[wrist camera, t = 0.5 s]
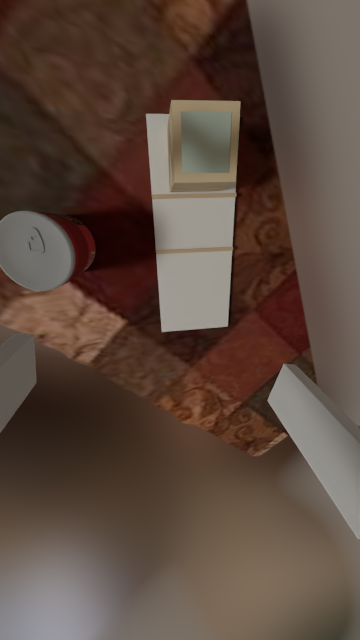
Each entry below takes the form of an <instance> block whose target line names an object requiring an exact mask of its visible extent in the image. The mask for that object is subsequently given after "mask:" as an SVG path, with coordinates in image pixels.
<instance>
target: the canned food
mask: <svg viewBox="0 0 360 640" xmlns="http://www.w3.org/2000/svg"><path fill="white" fill-rule="evenodd" d="M95 253H96V247H95V241H94V238H93V236H92V234H91V232H90V231H89V229H88V228H87V227H86V226H85V225H84V224H83V223H82V222H80V221H79V220H77V219H75V218H73V217H70V216H65V215H58V214H51V213H44V212H37V211H18V212H14V213H11V214H9V215H7V216H5V217H4V218H3V219H2V220H1V221H0V267H1V268H2V269H3V271H4V272H5V273H6V274H7V275H8V276H9V277H10V278H11V279H12V280H13V281H15V282H16V283H18V284H19V285H21V286H23V287H25V288H28V289H31V290H37V291H48V290H52V289H55V288H58V287H60V286H62V285H64V284H65V283H67V282H68V281H70V280H71V279H73V278H74V277H76V276H77V275H79V274H80V273H82V272H83V271H85V270H86V269H87V268H88V267H90V265H91V264H92V262H93V260H94V258H95Z"/></svg>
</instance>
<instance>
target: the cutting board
mask: <svg viewBox="0 0 360 640" xmlns="http://www.w3.org/2000/svg"><path fill="white" fill-rule="evenodd" d="M168 119H169V114H146V121H147V134H148V148H149V162H150V176H151V189H152V203H153V217H154V231H155V245H156V258H157V272H158V286H159V300H160V313H161V327H162V332H166V331H178V330H191V329H203V328H215V327H228V315H229V297H230V280H231V262H232V251H233V247H232V245H233V227H234V210H235V197H236V195H237V193H235V192H236V182H235V183H233V184H231V185H229V186H227V187H225V188H224V189H222V190H220V191H198V192H170V186H169V163H168V141H167V125H168ZM239 122H240V118H239ZM238 140H239V136H238ZM237 157H238V154H237ZM236 175H237V171H236Z"/></svg>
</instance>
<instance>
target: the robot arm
mask: <svg viewBox="0 0 360 640" xmlns="http://www.w3.org/2000/svg"><path fill="white" fill-rule="evenodd" d="M35 384H36V364H35V346H34V335H30V334H21V333H15V334H14V335H12V336H11V337H10V338H9V339H8V340H7V341H5V342H4V343H3V344H2V345H0V432H1V431H2V429H3V428H4V427H5V425H6V424H7V423H8V421H9V420H10V419H11V417H12V416H13V414H14V413H15V411H16V410H17V409H18V407H19V406H20V405H21V403H22V402H23V400H24V399H25V398H26V396H27V395H28V394H29V392H30V391H31V389H32V388H33V387H34V385H35ZM267 401H268V402H269V404H270V405H271V407H272V408H273V410H274V412H275V413H276V415H277V416H278V418H279V419H280V421H281V422H282V424H283V425H284V427H285V428H286V430H287V431H288V433H289V434H290V436H291V438H292V439H293V441H294V442H295V444H296V445H297V447H298V448H299V450H300V451H301V453H302V454H303V456H304V457H305V459H306V460H307V462H308V463H309V465H310V466H311V468H312V470H313V471H314V473H315V474H316V476H317V477H318V479H319V480H320V482H321V483H322V485H323V486H324V488H325V489H326V491H327V492H328V494H329V496H330V497H331V498H332V500H333V502H334V503H335V505H336V506H337V508H338V509H339V511H340V512H341V514H342V515H343V517H344V519H345V520H346V522H347V523H348V525H349V526H350V528H351V529H352V531H353V532H354V534H355V535H356V537H357V538H358V539H360V427H359V426H357V425H356V424H355V423H354V422H353V421H352V420H351V419H350V418H349V417H348V416H347V415H346V414H345V413H344V412H343V411H342V410H341V409H340V408H339V407H338V406H337V405H336V404H335V403H334V402H333V401H332V400H331V399H330V398H329V397H328V396H327V395H325V393H324V392H323V391H322V390H320V388H319V387H318V386H317V385H315V384H314V383H313V382H312V381H311V380H310V379H309V378H308V377H307V376H306V375H305V374H304V373H303V372H302V371H301V370H300V369H299V368H298V367H297V366H296V365H292V364H284V365H283V367H282V369H281V371H280V373H279V376H278V378H277V380H276V382H275V385H274V387H273V389H272V391H271V393H270V396H269V398H268V400H267Z"/></svg>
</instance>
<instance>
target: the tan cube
mask: <svg viewBox="0 0 360 640" xmlns="http://www.w3.org/2000/svg"><path fill="white" fill-rule="evenodd" d="M239 118H240V101H197V100H171V106H170V113H169V119H168V125H167V141H168V163H169V186H170V192H198V191H220V190H222V189H224V188H225V187H227V186H229V185H231V184H233V183H235V182H236V171H237V154H238V136H239Z"/></svg>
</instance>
